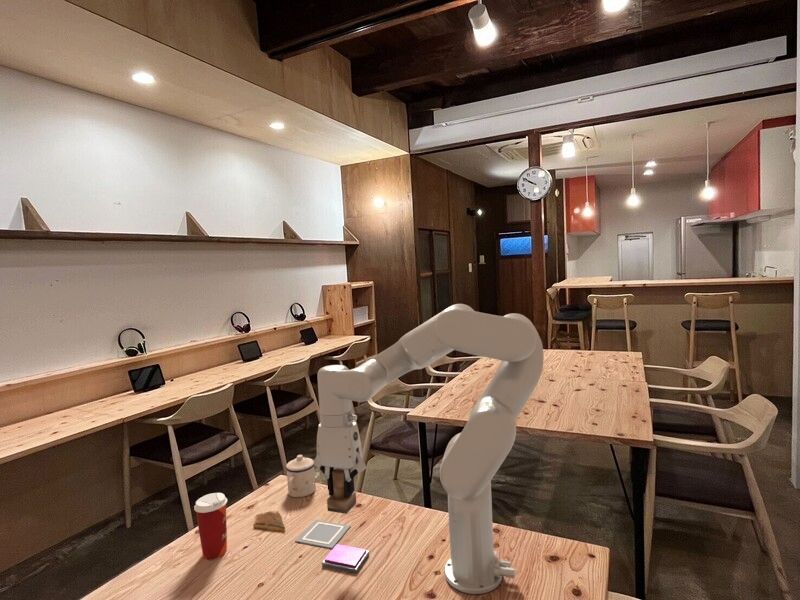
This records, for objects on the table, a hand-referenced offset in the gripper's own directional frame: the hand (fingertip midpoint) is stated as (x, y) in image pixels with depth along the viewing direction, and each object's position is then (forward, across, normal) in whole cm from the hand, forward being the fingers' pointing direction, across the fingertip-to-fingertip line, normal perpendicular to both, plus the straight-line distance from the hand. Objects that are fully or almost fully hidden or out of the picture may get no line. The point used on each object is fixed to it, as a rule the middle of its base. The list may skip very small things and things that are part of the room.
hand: (341, 493), depth 103 cm
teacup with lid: (+17, +30, -26) cm, 43 cm away
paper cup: (+17, +34, +6) cm, 38 cm away
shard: (+17, +28, -10) cm, 34 cm away
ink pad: (+17, 0, 0) cm, 17 cm away
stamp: (+3, 0, 0) cm, 3 cm away
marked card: (+17, +11, -8) cm, 21 cm away
